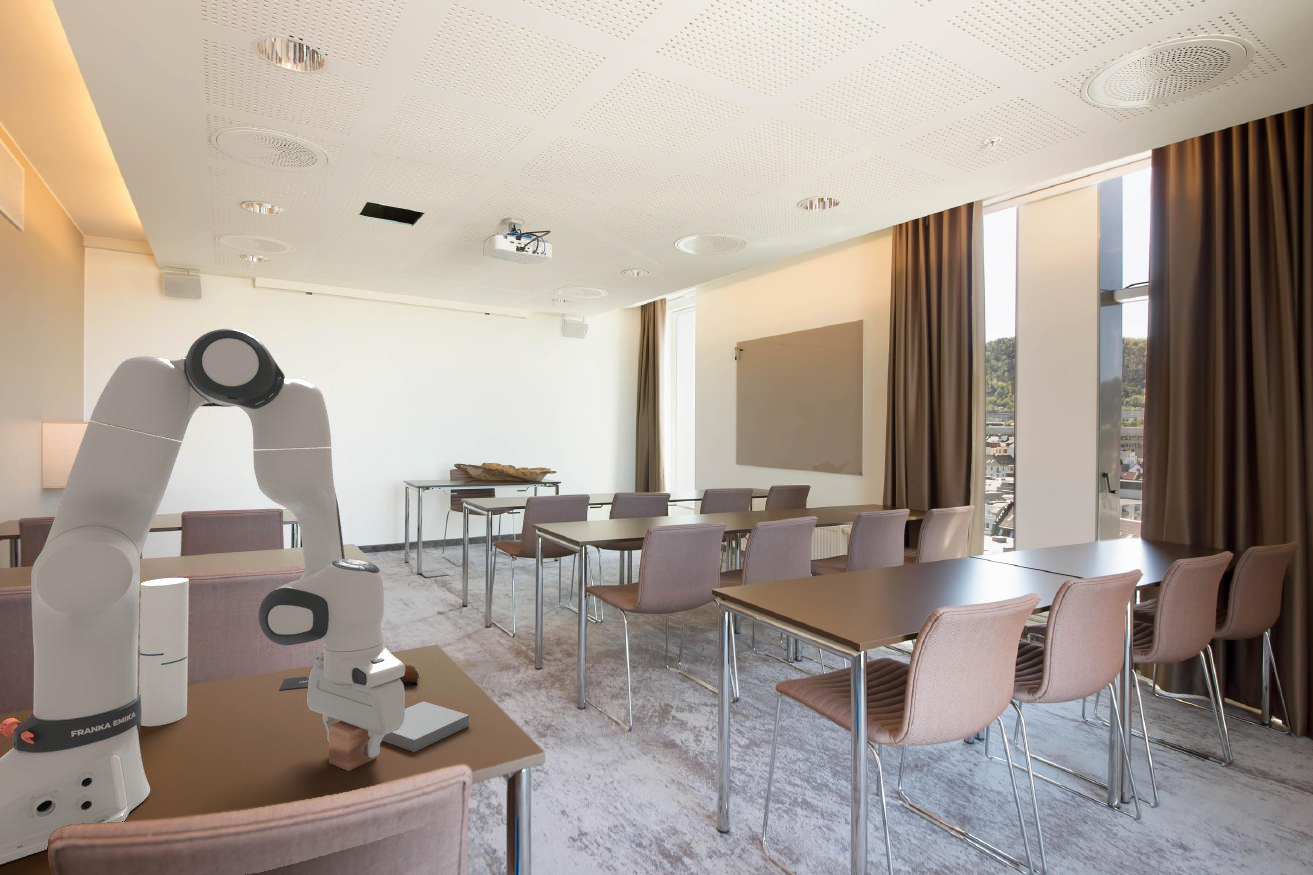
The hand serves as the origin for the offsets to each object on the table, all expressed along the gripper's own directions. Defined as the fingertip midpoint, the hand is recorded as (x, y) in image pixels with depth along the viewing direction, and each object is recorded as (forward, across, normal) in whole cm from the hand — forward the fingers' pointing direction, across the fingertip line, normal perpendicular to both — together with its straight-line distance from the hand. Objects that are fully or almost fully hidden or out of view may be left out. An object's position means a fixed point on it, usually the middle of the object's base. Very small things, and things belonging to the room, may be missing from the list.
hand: (353, 748), depth 108 cm
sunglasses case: (+2, -27, +24) cm, 37 cm away
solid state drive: (+3, -39, +17) cm, 43 cm away
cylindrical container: (+2, -44, -8) cm, 45 cm away
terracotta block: (+2, 0, 0) cm, 2 cm away
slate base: (+2, 0, +13) cm, 13 cm away
